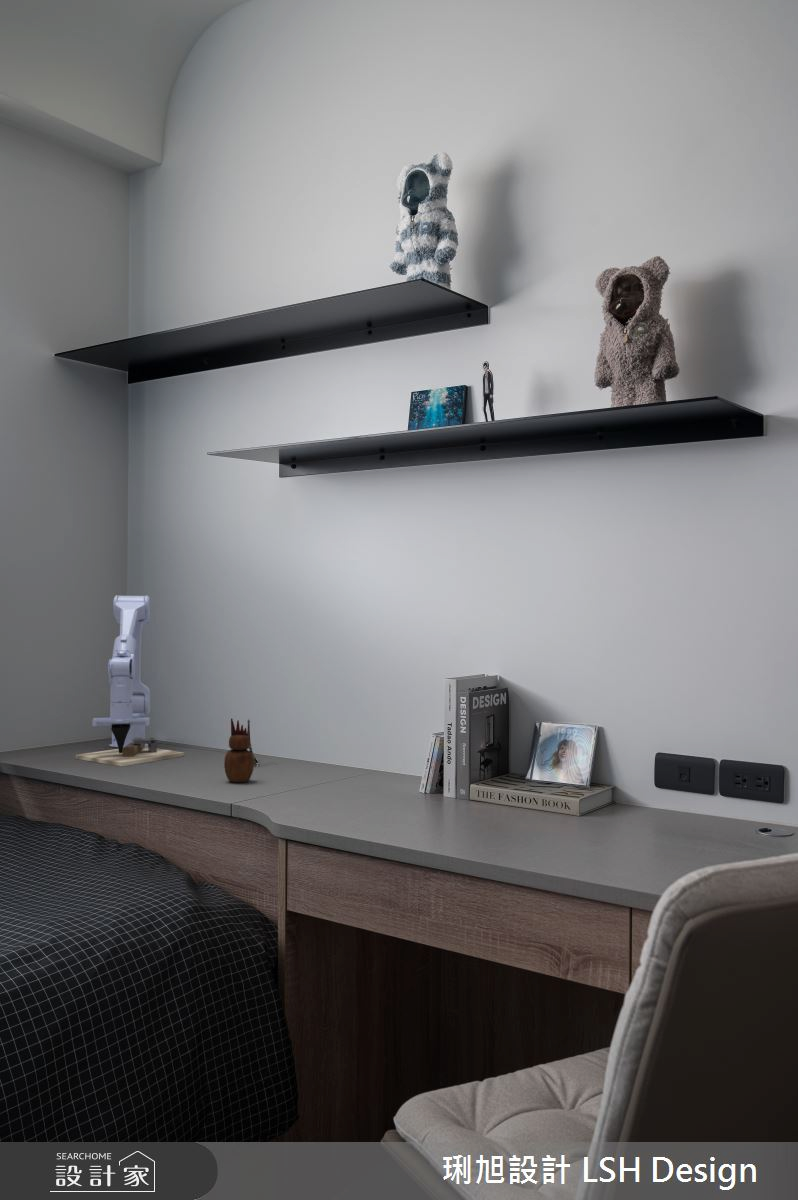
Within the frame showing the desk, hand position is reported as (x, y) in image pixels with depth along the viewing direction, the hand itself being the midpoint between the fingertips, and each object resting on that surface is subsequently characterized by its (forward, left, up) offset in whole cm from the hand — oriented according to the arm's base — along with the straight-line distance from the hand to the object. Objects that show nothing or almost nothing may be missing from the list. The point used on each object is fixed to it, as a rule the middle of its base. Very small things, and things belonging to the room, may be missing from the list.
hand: (120, 752), depth 257 cm
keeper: (-1, +8, -1) cm, 8 cm away
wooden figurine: (+47, -2, -2) cm, 47 cm away
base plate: (-1, +4, -2) cm, 5 cm away
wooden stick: (-3, +6, -1) cm, 7 cm away
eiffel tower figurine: (+32, +16, -3) cm, 35 cm away
